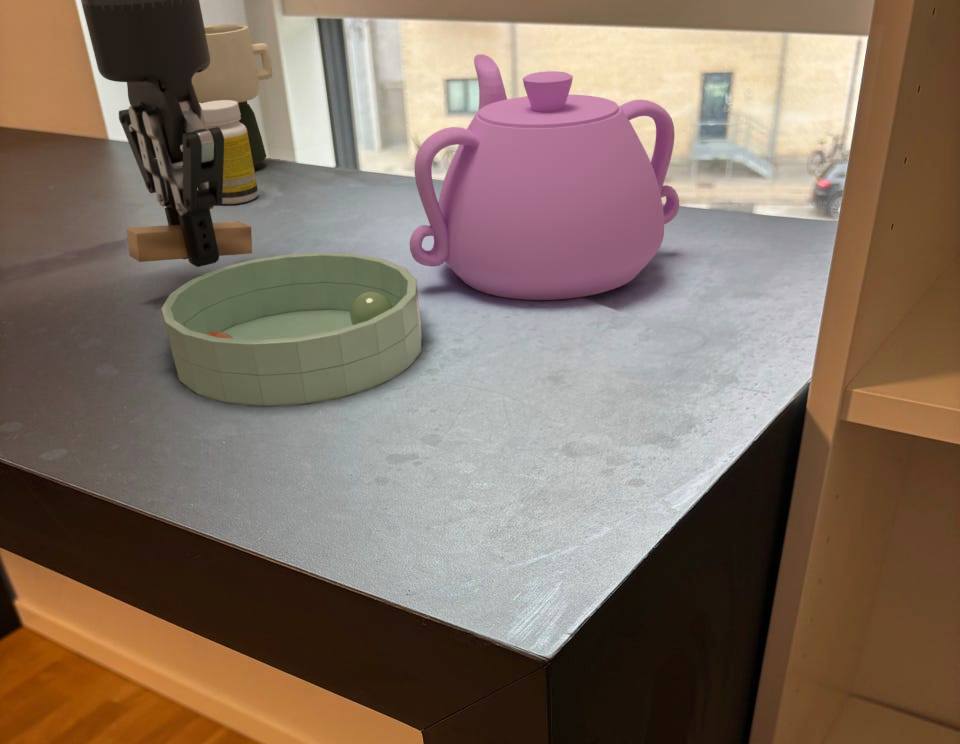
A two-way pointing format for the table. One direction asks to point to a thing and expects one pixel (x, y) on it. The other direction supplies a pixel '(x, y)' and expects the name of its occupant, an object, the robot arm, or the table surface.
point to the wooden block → (171, 243)
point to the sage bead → (368, 306)
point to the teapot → (546, 191)
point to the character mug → (234, 76)
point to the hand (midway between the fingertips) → (197, 258)
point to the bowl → (292, 329)
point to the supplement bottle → (233, 151)
